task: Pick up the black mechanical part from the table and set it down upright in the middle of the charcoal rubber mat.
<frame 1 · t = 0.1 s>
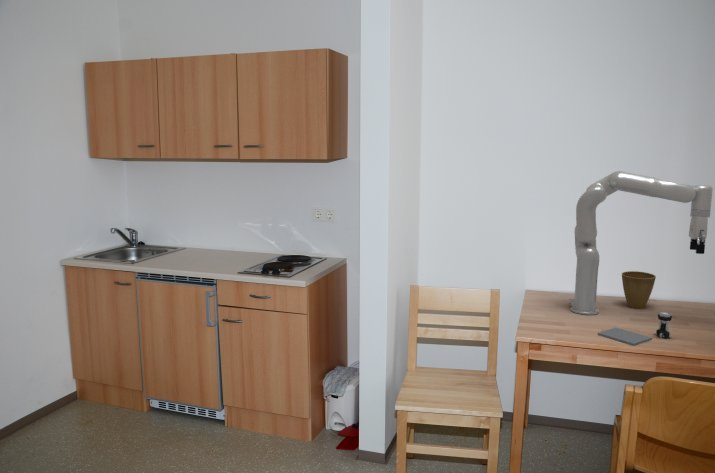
hand: (696, 251, 258), 31 cm above the table, tool pointing down, fingers open, 9 cm apart
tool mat: (624, 337, 239), on the table
plant pot: (636, 306, 283), on the table
black mechanical part: (661, 336, 240), on the table
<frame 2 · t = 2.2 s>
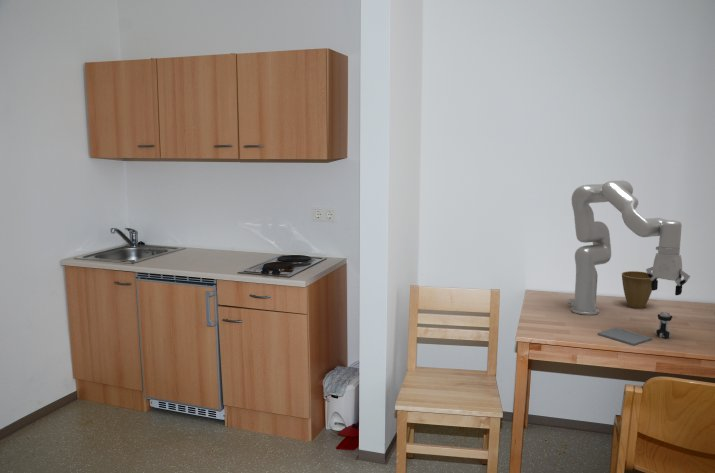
hand: (666, 292, 237), 19 cm above the table, tool pointing down, fingers open, 9 cm apart
nothing on the table moved.
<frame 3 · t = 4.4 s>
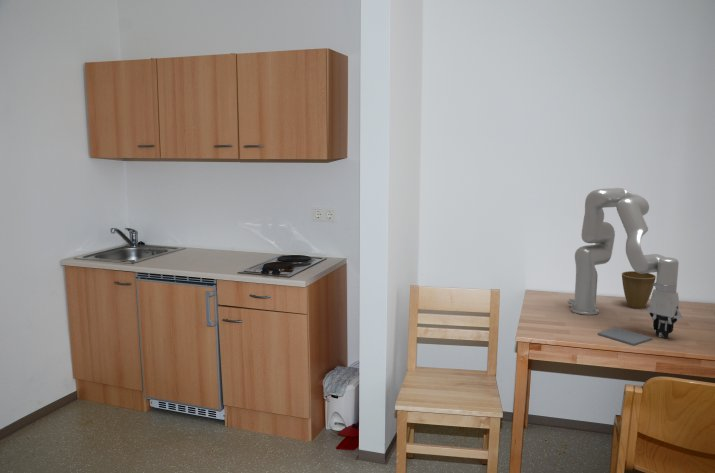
hand: (662, 330, 239), 3 cm above the table, tool pointing down, fingers closed on black mechanical part, 4 cm apart
black mechanical part: (660, 336, 240), on the table, touching gripper
everything else where it was.
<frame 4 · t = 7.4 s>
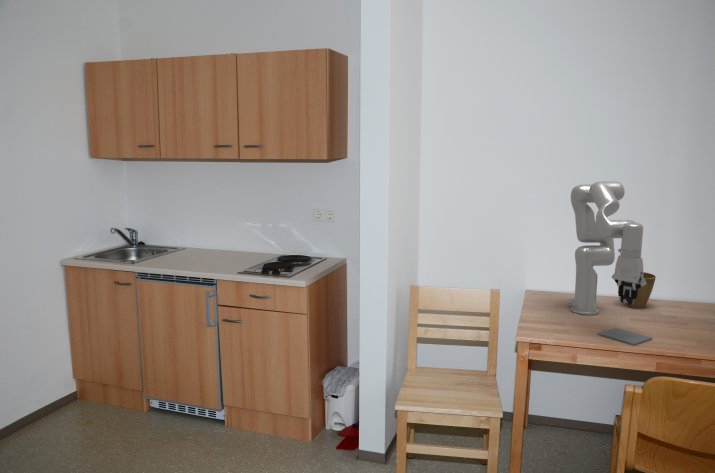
hand: (627, 297, 237), 17 cm above the table, tool pointing down, fingers closed on black mechanical part, 4 cm apart
black mechanical part: (625, 303, 238), point 14 cm above the table, touching gripper
everything else where it was.
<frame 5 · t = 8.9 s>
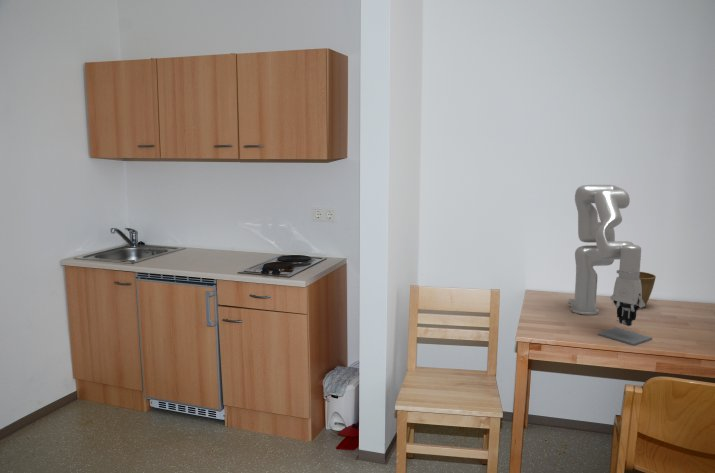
hand: (626, 318, 238), 8 cm above the table, tool pointing down, fingers closed on black mechanical part, 4 cm apart
black mechanical part: (624, 324, 239), point 5 cm above the table, touching gripper
everything else where it was.
when the fingers open (4 cm above the table, at t = 10.5 s): black mechanical part stays where it is, resting on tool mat.
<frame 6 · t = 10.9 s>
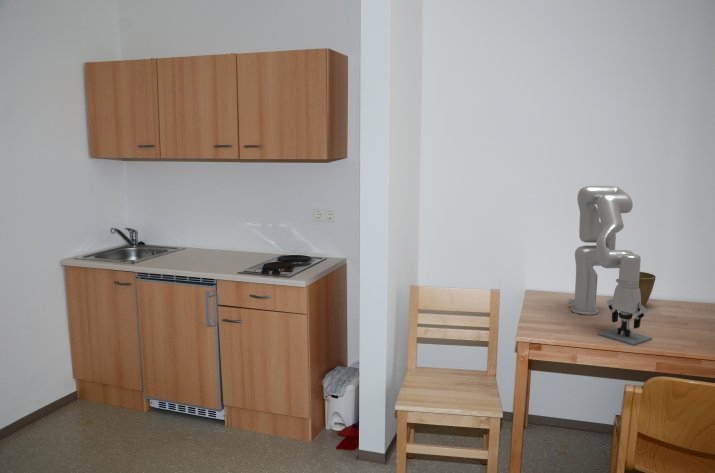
hand: (625, 324, 238), 5 cm above the table, tool pointing down, fingers open, 9 cm apart
black mechanical part: (622, 335, 240), point 1 cm above the table, touching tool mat
everything else where it was.
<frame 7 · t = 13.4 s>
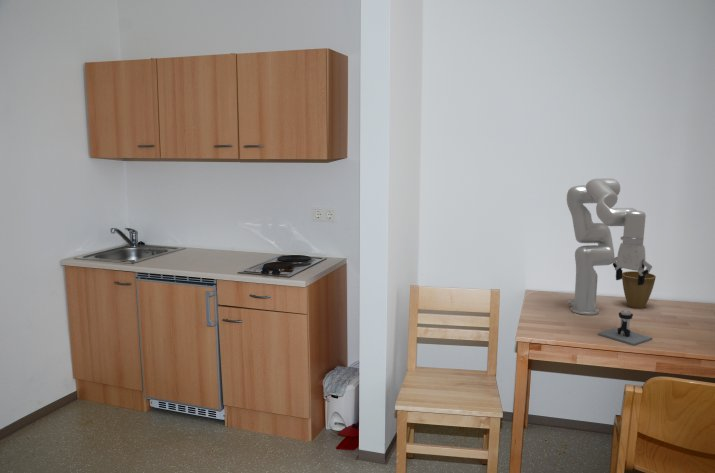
hand: (629, 282, 238), 23 cm above the table, tool pointing down, fingers open, 9 cm apart
nothing on the table moved.
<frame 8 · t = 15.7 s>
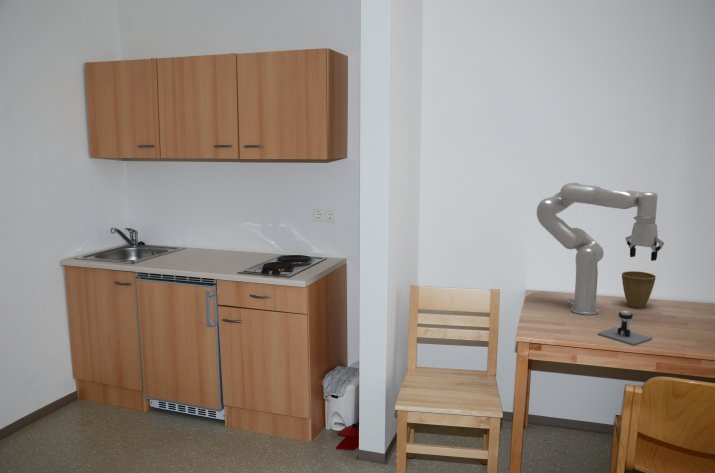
hand: (642, 258, 257), 28 cm above the table, tool pointing down, fingers open, 9 cm apart
nothing on the table moved.
at the end: black mechanical part inside the target area on the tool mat (0.9 cm from its centre), point 0.6 cm above the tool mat's base; black mechanical part tilted 0°; the gripper is holding nothing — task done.
